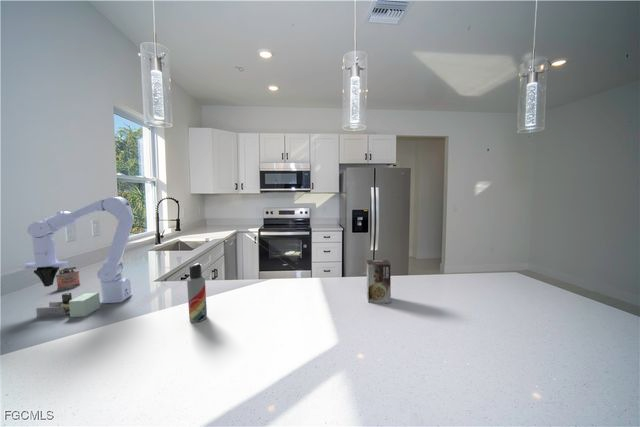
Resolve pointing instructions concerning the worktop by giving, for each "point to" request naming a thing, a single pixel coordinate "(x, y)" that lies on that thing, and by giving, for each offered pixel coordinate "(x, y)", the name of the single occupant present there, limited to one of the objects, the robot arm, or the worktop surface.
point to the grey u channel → (52, 310)
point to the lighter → (67, 278)
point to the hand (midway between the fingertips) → (48, 285)
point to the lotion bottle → (196, 294)
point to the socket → (84, 304)
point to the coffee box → (378, 281)
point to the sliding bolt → (66, 300)
